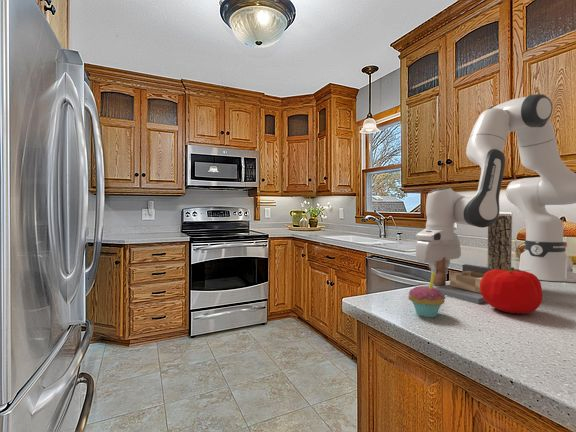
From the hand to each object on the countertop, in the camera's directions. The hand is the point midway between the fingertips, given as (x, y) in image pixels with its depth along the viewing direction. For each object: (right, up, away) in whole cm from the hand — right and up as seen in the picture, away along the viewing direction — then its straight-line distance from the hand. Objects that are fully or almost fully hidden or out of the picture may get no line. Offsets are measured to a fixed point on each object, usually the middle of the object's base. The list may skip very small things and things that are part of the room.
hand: (439, 273), depth 108 cm
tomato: (+5, -5, -27) cm, 28 cm away
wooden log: (+20, -4, -1) cm, 21 cm away
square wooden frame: (+6, -3, -10) cm, 12 cm away
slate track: (+5, -5, -11) cm, 13 cm away
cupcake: (-18, -5, -29) cm, 35 cm away
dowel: (0, -4, 0) cm, 4 cm away
